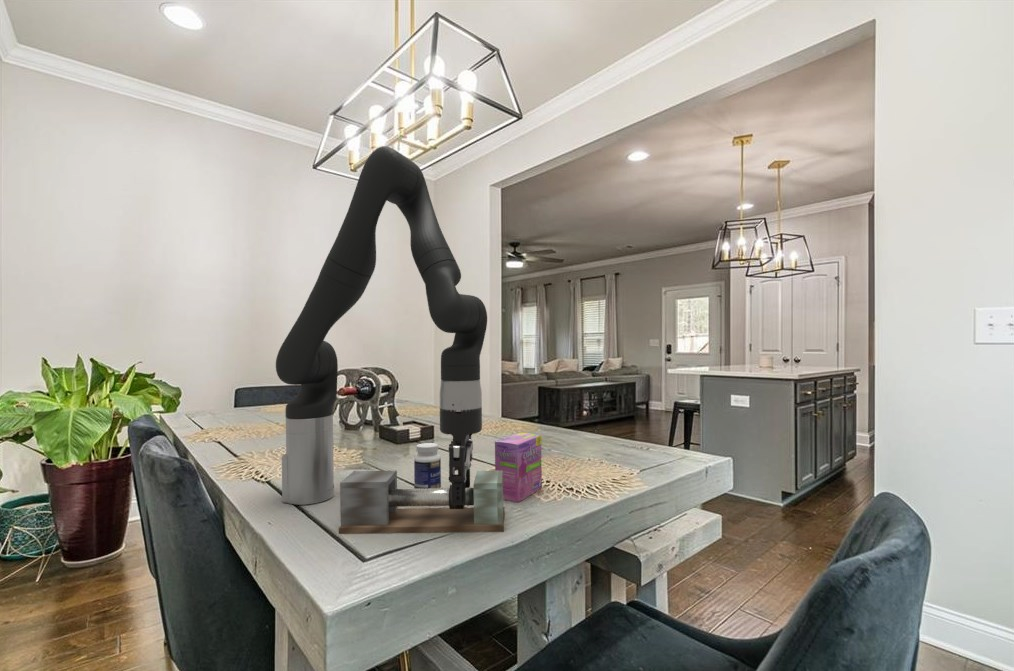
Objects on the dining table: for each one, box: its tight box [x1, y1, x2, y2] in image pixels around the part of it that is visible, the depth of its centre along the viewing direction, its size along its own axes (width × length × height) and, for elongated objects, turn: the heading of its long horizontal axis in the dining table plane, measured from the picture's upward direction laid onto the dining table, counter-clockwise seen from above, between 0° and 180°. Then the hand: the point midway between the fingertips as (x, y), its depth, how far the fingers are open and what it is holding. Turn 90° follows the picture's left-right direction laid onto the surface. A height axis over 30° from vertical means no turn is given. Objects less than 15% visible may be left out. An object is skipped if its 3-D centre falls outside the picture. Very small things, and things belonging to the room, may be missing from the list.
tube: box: [388, 484, 474, 509], centre depth 84 cm, size 18×4×4 cm, turn 89°
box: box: [494, 432, 543, 503], centre depth 100 cm, size 10×6×12 cm, turn 148°
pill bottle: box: [413, 442, 442, 489], centre depth 103 cm, size 6×6×10 cm
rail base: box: [338, 469, 506, 535], centre depth 84 cm, size 28×9×8 cm, turn 89°
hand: (461, 496), depth 84 cm, fingers open, 8 cm apart
